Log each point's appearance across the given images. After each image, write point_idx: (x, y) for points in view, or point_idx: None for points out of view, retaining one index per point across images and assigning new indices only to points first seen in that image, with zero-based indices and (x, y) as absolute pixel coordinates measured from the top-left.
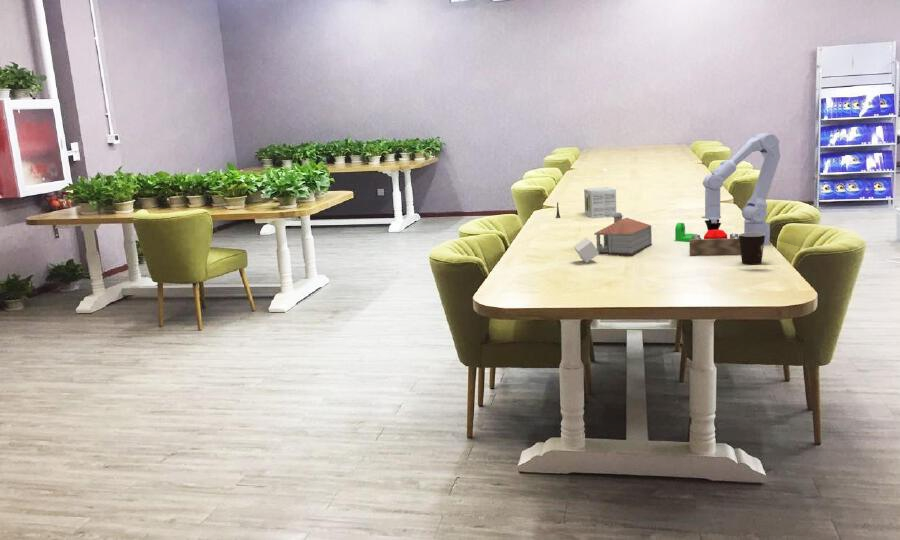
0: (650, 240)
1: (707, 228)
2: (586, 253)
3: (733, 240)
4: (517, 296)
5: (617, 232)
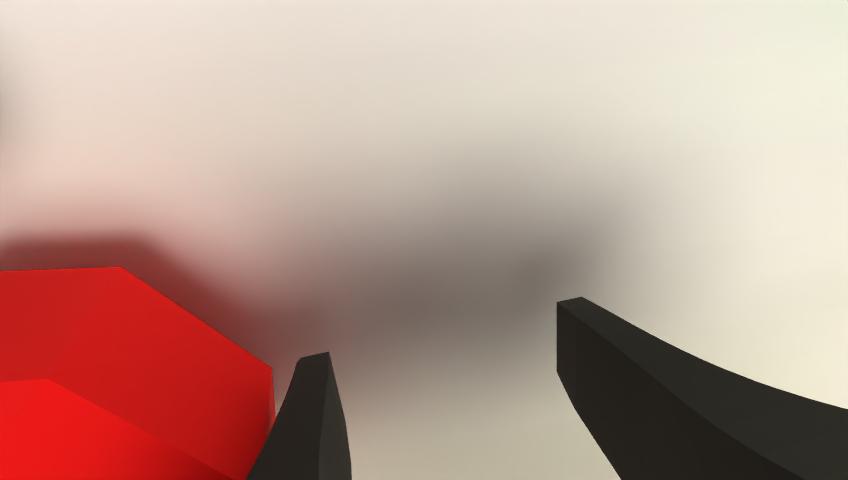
0: None
1: (686, 382)
2: None
3: None
4: None
5: None
